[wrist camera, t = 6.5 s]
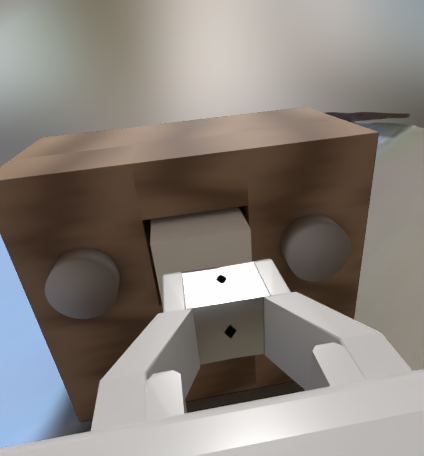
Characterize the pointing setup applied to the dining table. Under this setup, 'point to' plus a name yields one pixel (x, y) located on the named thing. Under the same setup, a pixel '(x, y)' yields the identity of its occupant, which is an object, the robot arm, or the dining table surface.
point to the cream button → (199, 242)
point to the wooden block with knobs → (171, 206)
